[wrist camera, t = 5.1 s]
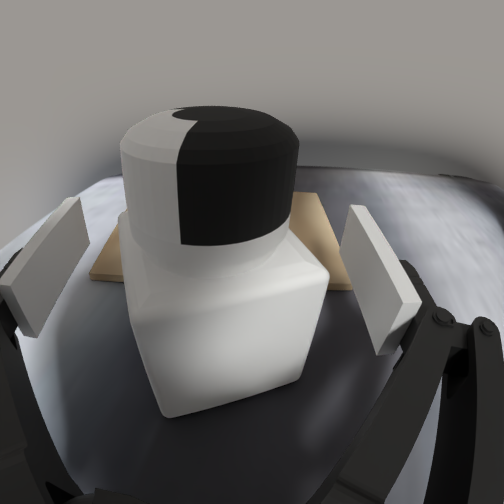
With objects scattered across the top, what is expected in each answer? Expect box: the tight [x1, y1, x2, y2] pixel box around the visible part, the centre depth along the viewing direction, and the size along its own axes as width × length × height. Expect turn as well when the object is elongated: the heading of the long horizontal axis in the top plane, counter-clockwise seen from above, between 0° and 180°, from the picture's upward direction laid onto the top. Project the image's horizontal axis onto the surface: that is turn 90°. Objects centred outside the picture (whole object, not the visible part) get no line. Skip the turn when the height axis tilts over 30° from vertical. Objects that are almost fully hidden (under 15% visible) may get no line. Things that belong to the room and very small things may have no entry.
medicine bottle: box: [118, 106, 330, 418], centre depth 13 cm, size 7×7×12 cm
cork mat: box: [89, 192, 353, 290], centre depth 26 cm, size 18×14×1 cm
